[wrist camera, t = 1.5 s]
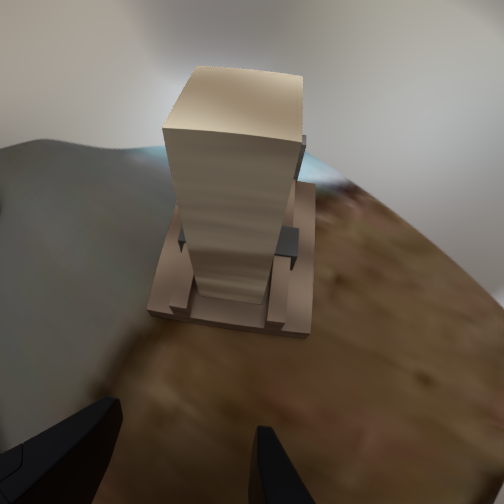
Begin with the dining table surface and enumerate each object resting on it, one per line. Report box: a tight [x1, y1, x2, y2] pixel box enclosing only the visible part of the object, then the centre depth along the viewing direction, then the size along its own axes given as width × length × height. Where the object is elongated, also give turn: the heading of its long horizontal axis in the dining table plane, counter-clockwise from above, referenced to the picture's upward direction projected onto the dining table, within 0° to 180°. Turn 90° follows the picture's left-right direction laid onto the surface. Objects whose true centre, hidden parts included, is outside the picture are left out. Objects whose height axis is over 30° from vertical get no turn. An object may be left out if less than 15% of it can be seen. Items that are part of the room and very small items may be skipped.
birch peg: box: [162, 66, 303, 304], centre depth 17 cm, size 4×4×15 cm
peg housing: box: [146, 135, 315, 338], centre depth 23 cm, size 14×12×8 cm
